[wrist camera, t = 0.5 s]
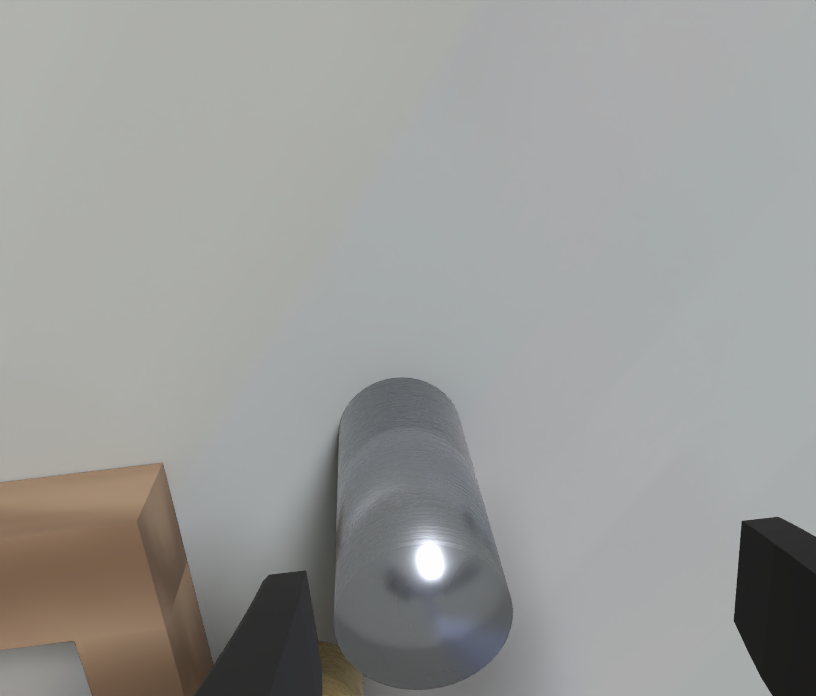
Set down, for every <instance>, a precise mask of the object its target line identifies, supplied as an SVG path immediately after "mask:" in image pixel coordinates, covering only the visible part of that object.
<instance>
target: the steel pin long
mask: <svg viewBox="0 0 816 696" xmlns="http://www.w3.org/2000/svg"><path fill="white" fill-rule="evenodd" d="M512 616H513V608H512V601H511V597H510V594H509V590H508V587H507V583H506V580H505V576H504V573H503V569H502V566H501V562H500V559H499V555H498V552H497V548H496V545H495V541H494V538H493V534H492V531H491V527H490V524H489V520H488V517H487V513H486V510H485V506H484V503H483V499H482V496H481V492H480V489H479V485H478V482H477V478H476V475H475V471H474V468H473V464H472V461H471V458H470V454H469V451H468V447H467V444H466V440H465V437H464V433H463V430H462V426H461V423H460V419H459V416H458V413H457V411H456V409H455V406H454V405H453V403H452V402H451V400H450V399H449V398H448V397H447V396H446V395H445V394H444V393H443V392H442V391H441V390H439V389H438V388H436V387H435V386H433V385H431V384H429V383H427V382H424V381H421V380H417V379H412V378H392V379H386V380H383V381H380V382H377V383H375V384H372V385H370V386H369V387H367V388H365V389H364V390H362V391H361V392H360V393H358V394H357V395H356V396H355V397H354V398H353V399H352V401H351V402H350V403H349V405H348V406H347V408H346V409H345V411H344V413H343V416H342V419H341V422H340V427H339V452H338V486H337V521H336V556H335V590H334V632H335V636H336V640H337V643H338V645H339V647H340V650H341V651H342V653H343V654H344V656H345V657H346V659H347V660H348V661H349V662H350V663H351V664H352V665H353V666H354V667H355V668H356V669H357V670H358V671H359V672H361V673H362V674H364V675H365V676H367V677H369V678H371V679H373V680H375V681H377V682H379V683H382V684H385V685H388V686H392V687H396V688H402V689H413V690H423V689H433V688H439V687H444V686H447V685H451V684H454V683H456V682H459V681H461V680H464V679H466V678H468V677H470V676H471V675H473V674H475V673H476V672H478V671H479V670H481V669H482V668H483V667H485V666H486V665H487V664H488V663H489V662H490V661H491V660H492V659H493V658H494V657H495V656H496V655H497V654H498V652H499V651H500V649H501V648H502V647H503V645H504V643H505V641H506V639H507V637H508V634H509V631H510V629H511V624H512Z"/></svg>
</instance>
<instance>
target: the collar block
mask: <svg viewBox="0 0 816 696" xmlns="http://www.w3.org/2000/svg"><path fill="white" fill-rule="evenodd" d="M67 641H75V644H76V647H77V651H78V654H79V657H80V660H81V663H82V666H83V669H84V672H85V675H86V678H87V681H88V684H89V687H90V690H91V693H92V696H193V695H194V693H195V692H196V690H197V689H198V688H199V686H200V685H201V683H202V682H203V681H204V679H205V678H206V676H207V675H208V673H209V672H210V670H211V669H212V667H213V663H212V659H211V655H210V651H209V647H208V643H207V639H206V635H205V631H204V627H203V622H202V618H201V614H200V610H199V606H198V602H197V598H196V594H195V590H194V586H193V582H192V578H191V574H190V570H189V566H188V562H187V558H186V554H185V550H184V546H183V542H182V538H181V534H180V530H179V526H178V522H177V518H176V514H175V510H174V506H173V502H172V498H171V494H170V490H169V486H168V482H167V478H166V474H165V470H164V466H163V463H157V464H149V465H141V466H132V467H124V468H116V469H108V470H100V471H91V472H83V473H75V474H67V475H58V476H50V477H42V478H34V479H26V480H17V481H9V482H1V483H0V650H4V649H12V648H20V647H28V646H36V645H44V644H51V643H59V642H67Z"/></svg>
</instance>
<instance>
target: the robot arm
mask: <svg viewBox="0 0 816 696" xmlns="http://www.w3.org/2000/svg"><path fill="white" fill-rule="evenodd" d="M734 622H735V624H736V626H737V629H738V631H739V633H740V635H741V637H742V639H743V642H744V644H745V646H746V648H747V650H748V652H749V654H750V656H751V658H752V660H753V662H754V664H755V666H756V668H757V670H758V672H759V674H760V676H761V678H762V680H763V681H764V683H765V684H766V686H767V688H768V689H769V691H770V692H771V694H772V695H773V696H816V537H815V536H813V535H811V534H810V533H808V532H806V531H804V530H803V529H801V528H799V527H797V526H795V525H793V524H791V523H789V522H787V521H786V520H784V519H782V518H779V517H773V518H764V519H755V520H747V521H742V526H741V538H740V551H739V563H738V575H737V588H736V600H735V613H734ZM193 696H322V664H321V658H320V652H319V646H318V640H317V633H316V627H315V621H314V615H313V609H312V603H311V597H310V591H309V585H308V579H307V573H306V571H298V572H289V573H281V574H272V575H268V576H267V578H266V579H265V580H264V581H263V582H262V584H261V586H260V588H259V590H258V592H257V594H256V596H255V598H254V599H253V601H252V603H251V605H250V607H249V609H248V610H247V612H246V614H245V616H244V617H243V619H242V621H241V622H240V624H239V626H238V628H237V629H236V631H235V633H234V634H233V636H232V638H231V639H230V641H229V642H228V644H227V645H226V647H225V649H224V650H223V652H222V653H221V655H220V656H219V658H218V660H217V661H216V663H215V664H214V666H213V667H212V669H211V670H210V672H209V673H208V675H207V676H206V678H205V679H204V681H203V682H202V683H201V685H200V686H199V688H198V689H197V690H196V692H195V693H194V695H193Z"/></svg>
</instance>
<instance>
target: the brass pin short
mask: <svg viewBox="0 0 816 696" xmlns="http://www.w3.org/2000/svg"><path fill="white" fill-rule="evenodd" d="M318 646H319V652H320V658H321V664H322V696H364V682H363V674H362V673H361V672H359V671H358V670H357V669H356V668H355V667H354V666H353V665H352V664H351V663H350V662H349V661H348V660H347V659H346V657H345V656H344V654H343V653H342V651H341V650H340V647H338V646H335V645H332V644H329V643H325V642H319V641H318Z"/></svg>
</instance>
